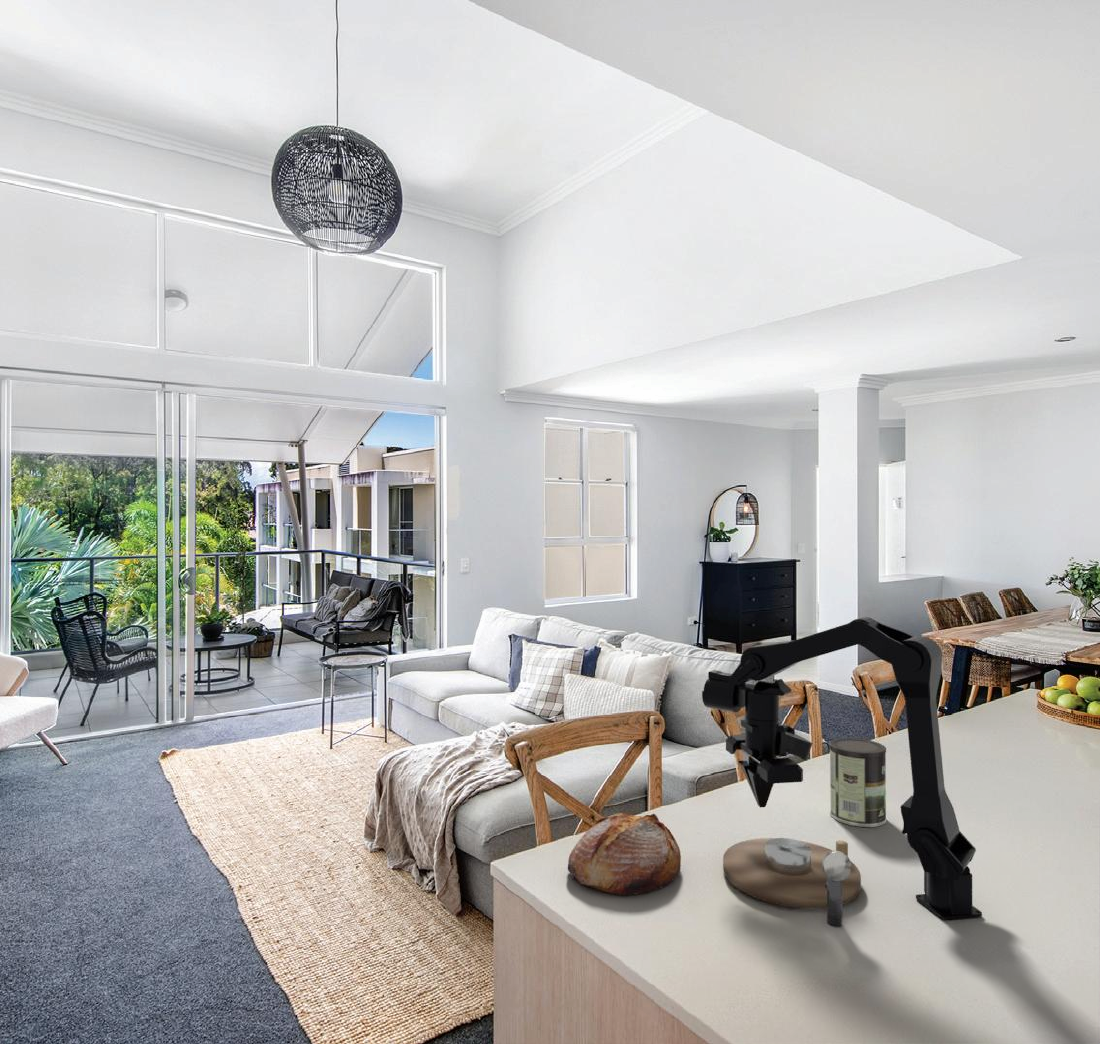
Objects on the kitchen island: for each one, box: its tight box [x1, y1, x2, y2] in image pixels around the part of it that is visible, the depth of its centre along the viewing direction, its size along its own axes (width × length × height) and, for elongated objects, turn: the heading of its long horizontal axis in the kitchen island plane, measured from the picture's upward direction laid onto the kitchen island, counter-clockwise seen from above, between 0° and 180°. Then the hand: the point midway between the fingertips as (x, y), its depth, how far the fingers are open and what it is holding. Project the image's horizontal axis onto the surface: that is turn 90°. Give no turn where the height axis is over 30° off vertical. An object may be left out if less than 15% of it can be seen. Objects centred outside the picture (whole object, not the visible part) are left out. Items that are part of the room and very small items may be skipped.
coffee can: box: [828, 737, 887, 828], centre depth 145 cm, size 10×10×14 cm
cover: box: [765, 837, 811, 876], centre depth 119 cm, size 7×7×3 cm
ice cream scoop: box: [822, 850, 852, 928], centre depth 107 cm, size 3×4×10 cm
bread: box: [567, 812, 682, 897], centre depth 122 cm, size 16×20×10 cm
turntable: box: [722, 837, 862, 909], centre depth 119 cm, size 21×21×4 cm
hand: (761, 806), depth 129 cm, fingers closed
